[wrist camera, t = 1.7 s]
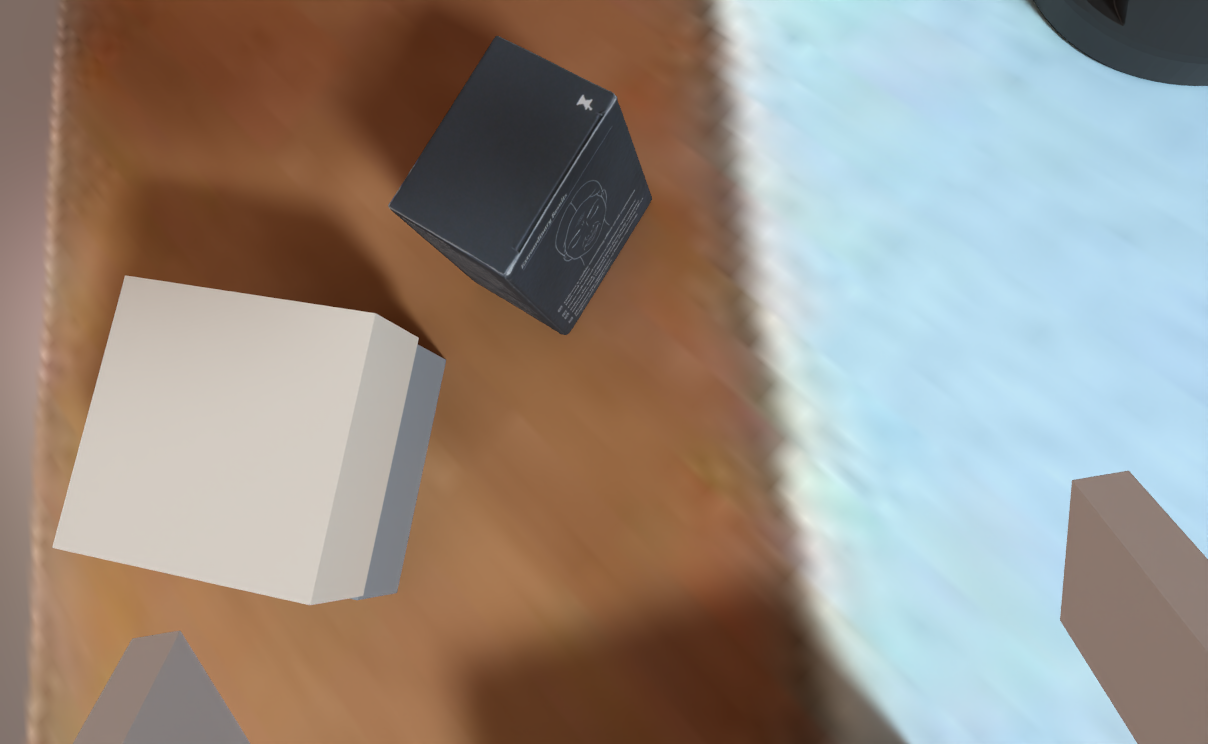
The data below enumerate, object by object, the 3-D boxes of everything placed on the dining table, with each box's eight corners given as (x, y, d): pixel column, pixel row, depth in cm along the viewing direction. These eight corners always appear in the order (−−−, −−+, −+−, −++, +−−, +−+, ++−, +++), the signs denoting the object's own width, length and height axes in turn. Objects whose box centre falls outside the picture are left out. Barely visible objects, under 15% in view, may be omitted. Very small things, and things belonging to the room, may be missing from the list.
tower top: (193, 302, 40) (125, 275, 36) (418, 338, 38) (375, 313, 34) (131, 545, 39) (52, 547, 34) (363, 595, 37) (310, 605, 32)
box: (556, 146, 43) (495, 28, 33) (655, 200, 42) (623, 93, 32) (470, 282, 43) (380, 205, 32) (567, 340, 41) (506, 279, 31)
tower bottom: (243, 328, 45) (187, 306, 40) (448, 361, 43) (413, 342, 38) (189, 547, 43) (125, 549, 39) (399, 592, 41) (357, 600, 37)
